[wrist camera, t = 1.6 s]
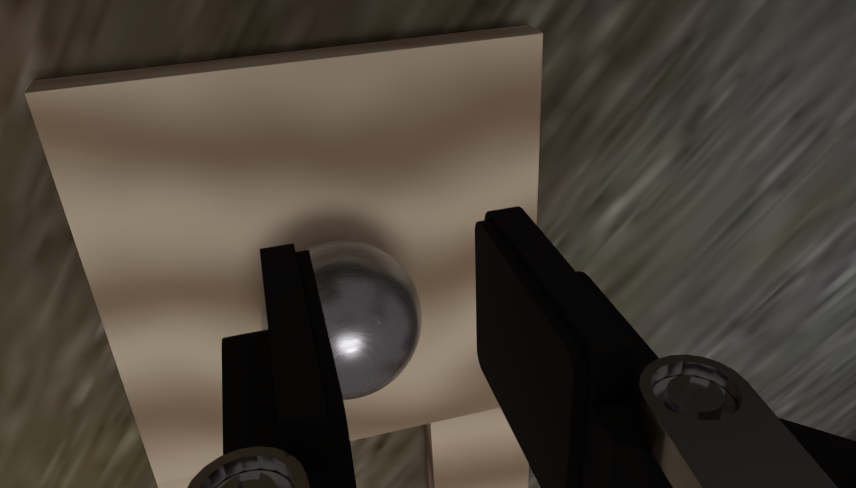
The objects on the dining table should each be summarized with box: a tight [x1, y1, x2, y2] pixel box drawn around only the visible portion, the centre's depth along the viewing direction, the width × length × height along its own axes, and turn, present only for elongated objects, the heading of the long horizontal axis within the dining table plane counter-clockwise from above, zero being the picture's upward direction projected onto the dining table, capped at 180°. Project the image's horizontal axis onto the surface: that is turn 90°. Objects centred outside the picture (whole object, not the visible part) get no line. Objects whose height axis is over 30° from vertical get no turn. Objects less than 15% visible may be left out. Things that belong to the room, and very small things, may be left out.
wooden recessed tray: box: [25, 25, 543, 488], centre depth 33 cm, size 30×18×2 cm, turn 3°
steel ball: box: [261, 239, 422, 400], centre depth 27 cm, size 6×6×6 cm
